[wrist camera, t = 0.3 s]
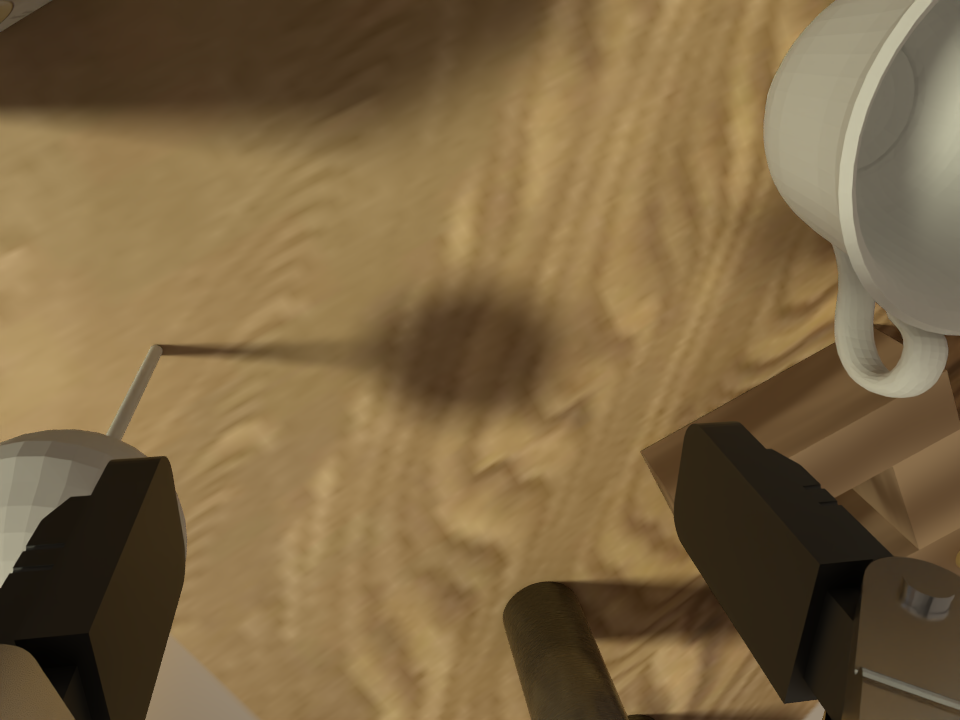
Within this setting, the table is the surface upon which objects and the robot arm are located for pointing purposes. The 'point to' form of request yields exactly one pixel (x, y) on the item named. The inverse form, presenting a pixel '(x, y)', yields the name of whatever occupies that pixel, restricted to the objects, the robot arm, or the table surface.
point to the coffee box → (17, 10)
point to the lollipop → (61, 470)
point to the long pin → (558, 657)
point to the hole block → (855, 449)
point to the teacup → (878, 174)
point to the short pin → (639, 717)
